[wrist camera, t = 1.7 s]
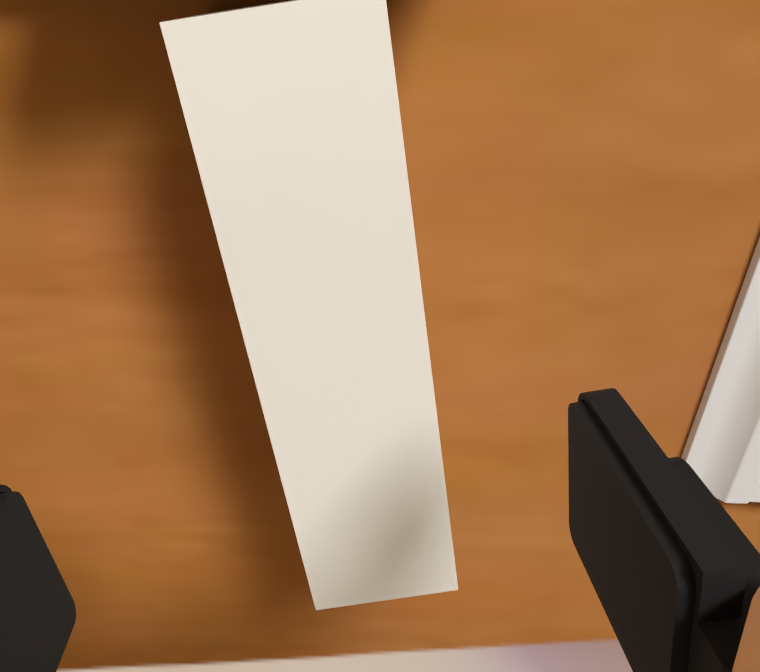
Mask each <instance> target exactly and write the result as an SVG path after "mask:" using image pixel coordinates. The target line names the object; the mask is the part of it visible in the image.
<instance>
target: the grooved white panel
mask: <svg viewBox="0 0 760 672" xmlns="http://www.w3.org/2000/svg"><path fill="white" fill-rule="evenodd" d="M681 458H682V459H684V460H685V461H686V462H687V463H688V464H689V465H690V466H691V467H692V469H693V470H694V471H695V473H696V474H697V475H698V476H699V478H700V479H701V480H702V481H703V483H704V484H705V485H706V487H707V488H708V489H709V490H710V492H711V493H712V494H713V495H714V497H715V498H717V499H719V500H721V501H723V502H725V503H745V504H748V503H749V502H760V237H759V240H758V243H757V246H756V248H755V251H754V254H753V257H752V260H751V262H750V265H749V268H748V271H747V274H746V276H745V279H744V282H743V285H742V288H741V290H740V293H739V296H738V299H737V302H736V304H735V307H734V310H733V313H732V316H731V319H730V321H729V324H728V327H727V330H726V333H725V335H724V338H723V341H722V344H721V347H720V349H719V352H718V355H717V358H716V361H715V363H714V366H713V369H712V372H711V375H710V378H709V380H708V383H707V386H706V389H705V392H704V394H703V397H702V400H701V403H700V406H699V408H698V411H697V414H696V417H695V420H694V422H693V425H692V428H691V431H690V434H689V436H688V439H687V442H686V445H685V448H684V451H683V453H682V456H681Z"/></svg>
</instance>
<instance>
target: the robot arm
mask: <svg viewBox="0 0 760 672" xmlns="http://www.w3.org/2000/svg"><path fill="white" fill-rule="evenodd" d="M568 443H569V526H570V532H571V536H572V540H573V543H574V545H575V547H576V550H577V552H578V554H579V556H580V558H581V560H582V562H583V565H584V567H585V569H586V571H587V573H588V575H589V578H590V580H591V582H592V584H593V586H594V588H595V591H596V593H597V595H598V597H599V599H600V601H601V603H602V606H603V608H604V610H605V612H606V614H607V616H608V619H609V621H610V623H611V625H612V627H613V629H614V632H615V634H616V636H617V638H618V640H619V642H620V644H621V647H622V649H623V651H624V653H625V655H626V657H627V660H628V662H629V664H630V666H631V668H632V670H633V672H760V554H759V553H758V551H757V550H756V549H755V548H754V546H753V545H752V544H751V542H750V541H749V540H748V539H747V537H746V536H745V535H744V534H743V532H742V531H741V530H740V528H739V527H738V526H737V525H736V523H735V522H734V521H733V520H732V518H731V517H730V516H729V514H728V513H727V512H726V511H725V509H724V508H723V507H722V506H721V504H720V503H719V502H718V501H717V499H716V498H715V497H714V495H713V494H712V493H711V492H710V490H709V489H708V488H707V487H706V485H705V484H704V483H703V481H702V480H701V479H700V478H699V476H698V475H697V474H696V473H695V471H694V470H693V469H692V467H691V466H690V465H689V464H688V463H687V462H686V461H685V460H684V459H682V458H679V457H674V458H668V457H667V456H666V455H665V453H664V452H663V451H662V449H661V448H660V447H659V445H658V444H657V443H656V441H655V440H654V439H653V437H652V436H651V435H650V433H649V432H648V431H647V429H646V428H645V427H644V425H643V424H642V423H641V422H640V420H639V419H638V418H637V416H636V415H635V414H634V412H633V411H632V410H631V408H630V407H629V406H628V404H627V403H626V402H625V400H624V399H623V398H622V396H621V395H620V394H619V392H618V391H617V390H616V389H614V388H610V389H604V390H597V391H591V392H585V393H581V394H580V395H579V398H578V402H576V403H571V404H569V408H568ZM75 618H76V609H75V604H74V601H73V599H72V597H71V595H70V593H69V590H68V588H67V586H66V584H65V582H64V580H63V578H62V576H61V574H60V572H59V570H58V568H57V566H56V564H55V562H54V560H53V558H52V556H51V553H50V551H49V549H48V547H47V545H46V543H45V541H44V539H43V537H42V535H41V533H40V531H39V529H38V527H37V525H36V523H35V521H34V519H33V516H32V514H31V512H30V510H29V508H28V506H27V504H26V502H25V500H24V498H23V496H22V495H21V494H20V493H19V492H15V491H14V492H12V490H11V489H10V488H9V487H8V486H6V485H0V672H56V670H57V668H58V665H59V663H60V660H61V657H62V655H63V652H64V650H65V647H66V645H67V642H68V639H69V637H70V634H71V632H72V629H73V627H74V623H75Z"/></svg>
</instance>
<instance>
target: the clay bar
mask: <svg viewBox="0 0 760 672" xmlns="http://www.w3.org/2000/svg"><path fill="white" fill-rule="evenodd" d="M159 23H160V27H161V30H162V34H163V38H164V42H165V45H166V49H167V53H168V57H169V61H170V64H171V68H172V72H173V76H174V79H175V83H176V87H177V91H178V94H179V98H180V102H181V106H182V109H183V113H184V117H185V121H186V124H187V128H188V132H189V136H190V139H191V143H192V147H193V151H194V154H195V158H196V162H197V166H198V169H199V173H200V177H201V181H202V184H203V188H204V192H205V196H206V199H207V203H208V207H209V211H210V215H211V218H212V222H213V226H214V230H215V233H216V237H217V241H218V245H219V248H220V252H221V256H222V260H223V263H224V267H225V271H226V275H227V278H228V282H229V286H230V290H231V293H232V297H233V301H234V305H235V308H236V312H237V316H238V320H239V323H240V327H241V331H242V335H243V338H244V342H245V346H246V350H247V354H248V357H249V361H250V365H251V369H252V372H253V376H254V380H255V384H256V387H257V391H258V395H259V399H260V402H261V406H262V410H263V414H264V417H265V421H266V425H267V429H268V432H269V436H270V440H271V444H272V447H273V451H274V455H275V459H276V462H277V466H278V470H279V474H280V477H281V481H282V485H283V489H284V492H285V496H286V500H287V504H288V508H289V511H290V515H291V519H292V523H293V526H294V530H295V534H296V538H297V541H298V545H299V549H300V553H301V556H302V560H303V564H304V568H305V571H306V575H307V579H308V583H309V586H310V590H311V594H312V598H313V601H314V605H315V609H316V610H321V609H328V608H335V607H342V606H349V605H356V604H363V603H370V602H377V601H384V600H391V599H398V598H405V597H412V596H419V595H426V594H433V593H439V592H446V591H453V590H458V584H457V575H456V567H455V559H454V551H453V543H452V535H451V526H450V518H449V510H448V502H447V494H446V486H445V477H444V469H443V461H442V453H441V445H440V437H439V428H438V420H437V412H436V404H435V396H434V388H433V379H432V371H431V363H430V355H429V347H428V339H427V330H426V322H425V314H424V306H423V298H422V290H421V281H420V273H419V265H418V257H417V249H416V241H415V232H414V224H413V216H412V208H411V200H410V192H409V183H408V175H407V167H406V159H405V151H404V142H403V134H402V126H401V118H400V110H399V102H398V93H397V85H396V77H395V69H394V61H393V53H392V44H391V36H390V28H389V20H388V12H387V4H386V0H286V1H280V2H274V3H267V4H261V5H255V6H248V7H242V8H236V9H230V10H223V11H217V12H211V13H205V14H200V15H195V16H190V17H184V18H179V19H174V20H169V21H164V22H159Z"/></svg>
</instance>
